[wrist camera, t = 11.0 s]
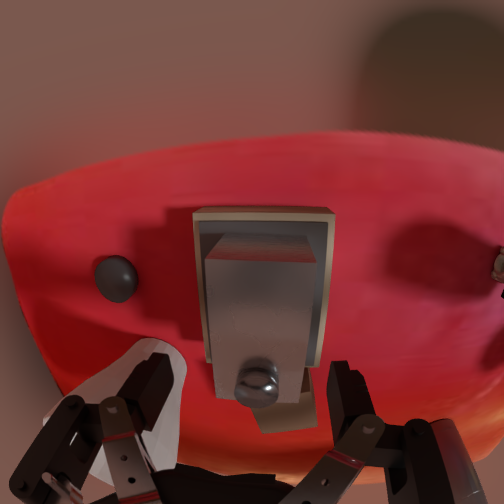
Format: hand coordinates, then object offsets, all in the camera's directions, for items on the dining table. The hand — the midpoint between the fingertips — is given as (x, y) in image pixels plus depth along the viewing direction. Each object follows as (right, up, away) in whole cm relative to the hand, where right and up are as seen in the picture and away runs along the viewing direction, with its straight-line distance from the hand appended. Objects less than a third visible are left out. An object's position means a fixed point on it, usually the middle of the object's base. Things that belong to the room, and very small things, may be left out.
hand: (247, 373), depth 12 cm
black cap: (-12, +4, +10) cm, 16 cm away
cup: (-9, -5, +13) cm, 17 cm away
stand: (+1, +3, +9) cm, 10 cm away
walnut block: (+3, -6, +12) cm, 14 cm away
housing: (+1, +3, +6) cm, 6 cm away
